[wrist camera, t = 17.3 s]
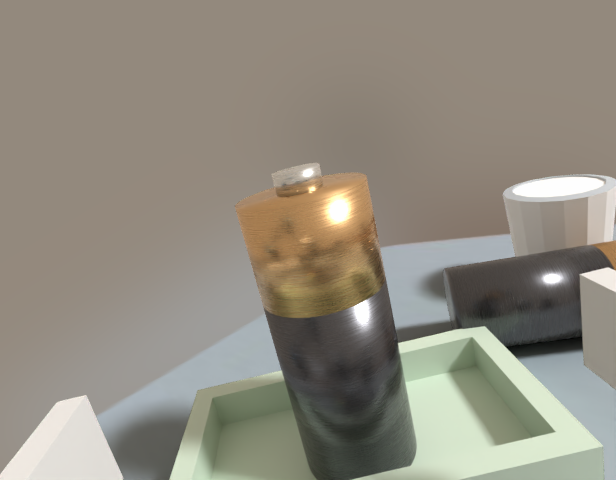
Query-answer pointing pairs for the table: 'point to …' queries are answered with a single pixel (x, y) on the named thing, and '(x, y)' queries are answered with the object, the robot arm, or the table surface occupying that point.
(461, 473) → the trough
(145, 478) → the table surface
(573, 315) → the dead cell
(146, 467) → the table surface
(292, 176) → the cell
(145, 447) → the table surface
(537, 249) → the white cup
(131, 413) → the table surface
